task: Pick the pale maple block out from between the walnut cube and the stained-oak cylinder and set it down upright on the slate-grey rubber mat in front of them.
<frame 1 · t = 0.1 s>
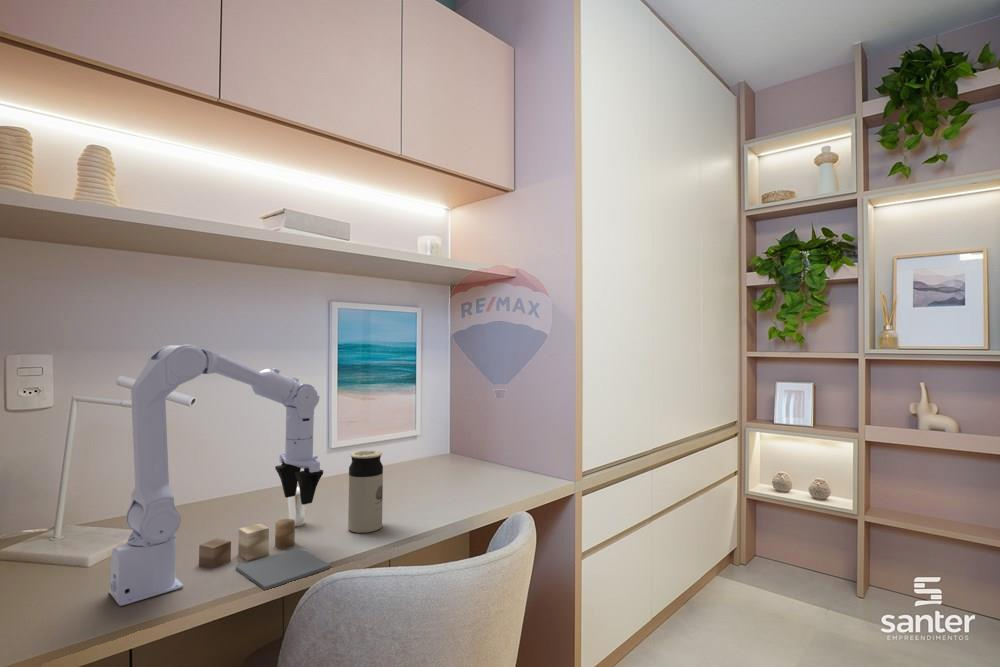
hand: (298, 499, 114), 10 cm above the table, tool pointing down, fingers open, 7 cm apart
milkshake: (295, 525, 128), on the table
travel mug: (365, 528, 125), on the table
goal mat: (283, 568, 102), on the table
walnut cube: (214, 563, 105), on the table
oak cylinder: (284, 544, 114), on the table
maple block: (253, 554, 109), on the table
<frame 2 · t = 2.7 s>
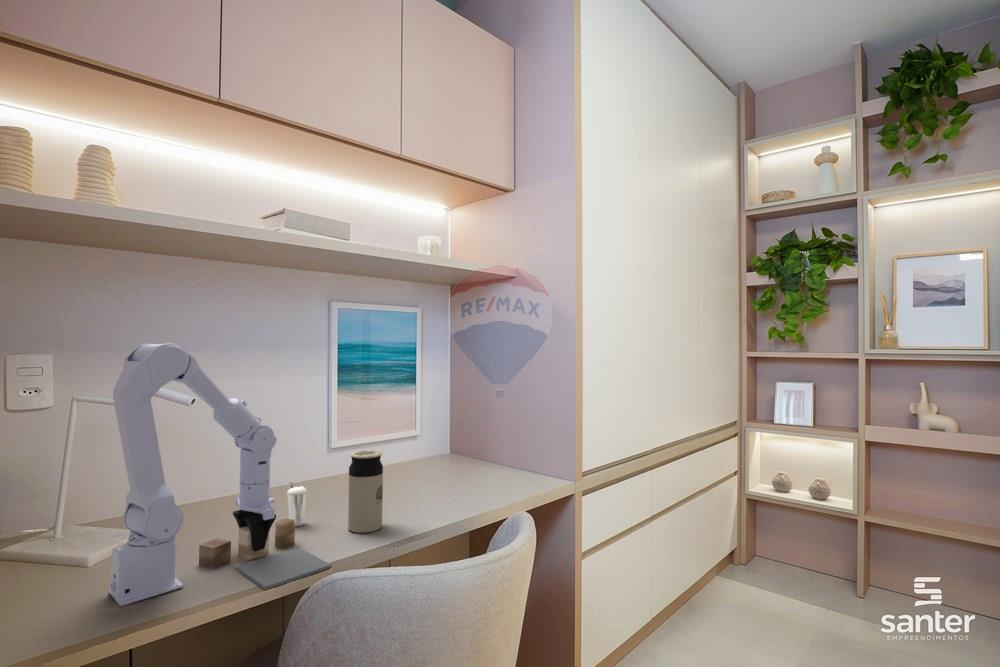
hand: (253, 546, 109), 2 cm above the table, tool pointing down, fingers closed on maple block, 4 cm apart
maple block: (253, 554, 109), on the table, touching gripper
everything else where it was.
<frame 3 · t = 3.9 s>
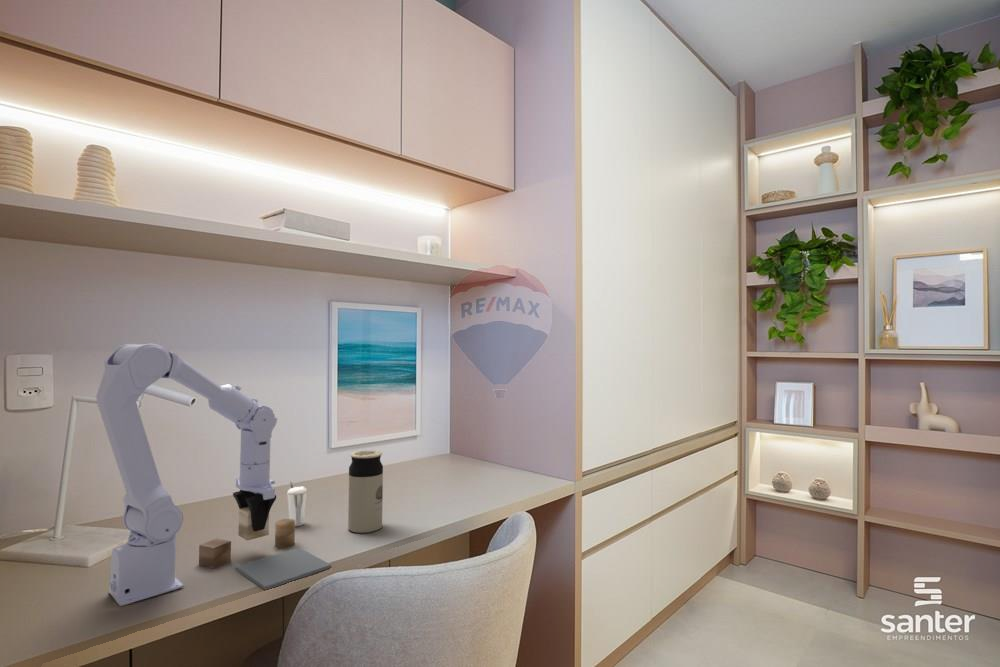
hand: (253, 527, 109), 6 cm above the table, tool pointing down, fingers closed on maple block, 4 cm apart
maple block: (253, 535, 109), point 4 cm above the table, touching gripper
everything else where it was.
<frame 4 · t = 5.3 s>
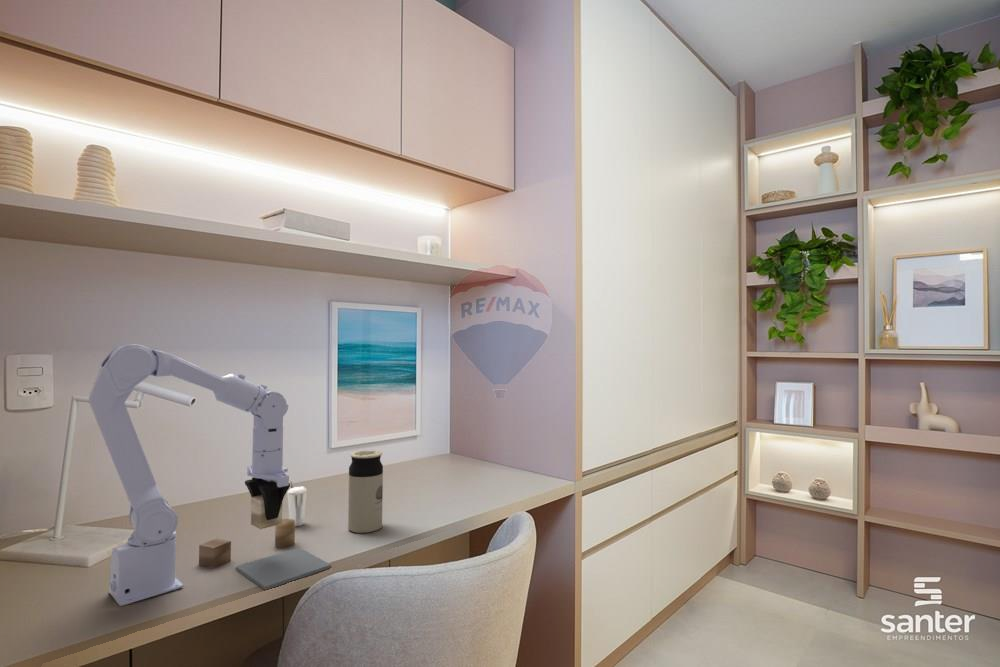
hand: (266, 516, 106), 9 cm above the table, tool pointing down, fingers closed on maple block, 4 cm apart
maple block: (266, 524, 106), point 7 cm above the table, touching gripper
everything else where it was.
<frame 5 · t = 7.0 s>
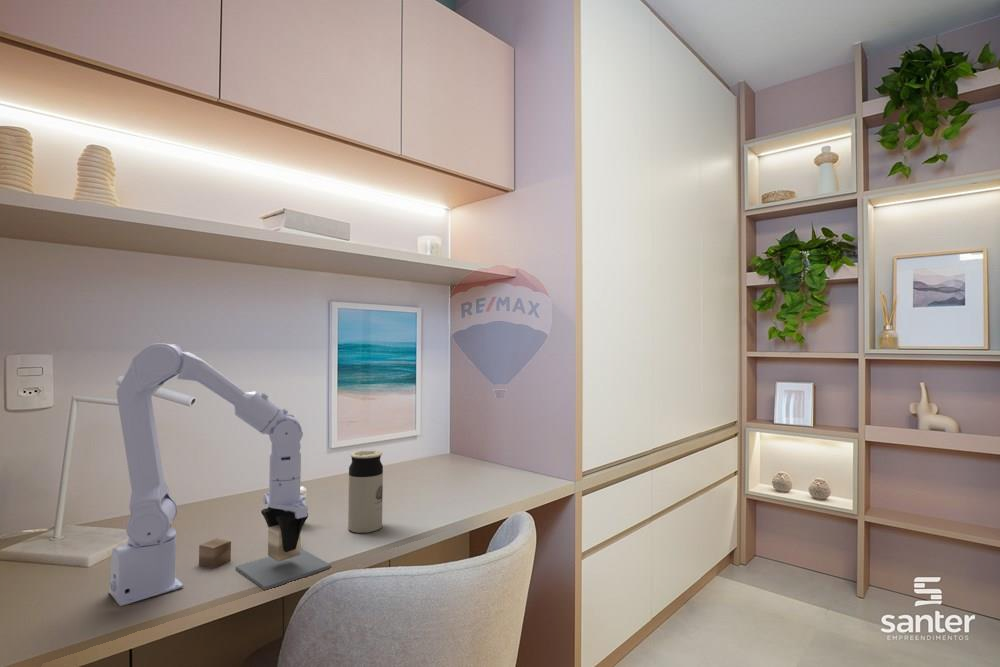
hand: (284, 547, 102), 4 cm above the table, tool pointing down, fingers closed on maple block, 4 cm apart
maple block: (284, 555, 102), point 3 cm above the table, touching gripper
everything else where it was.
when the fingers open (4 cm above the table, at t = 8.2 s): maple block drops 2 cm, resting on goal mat.
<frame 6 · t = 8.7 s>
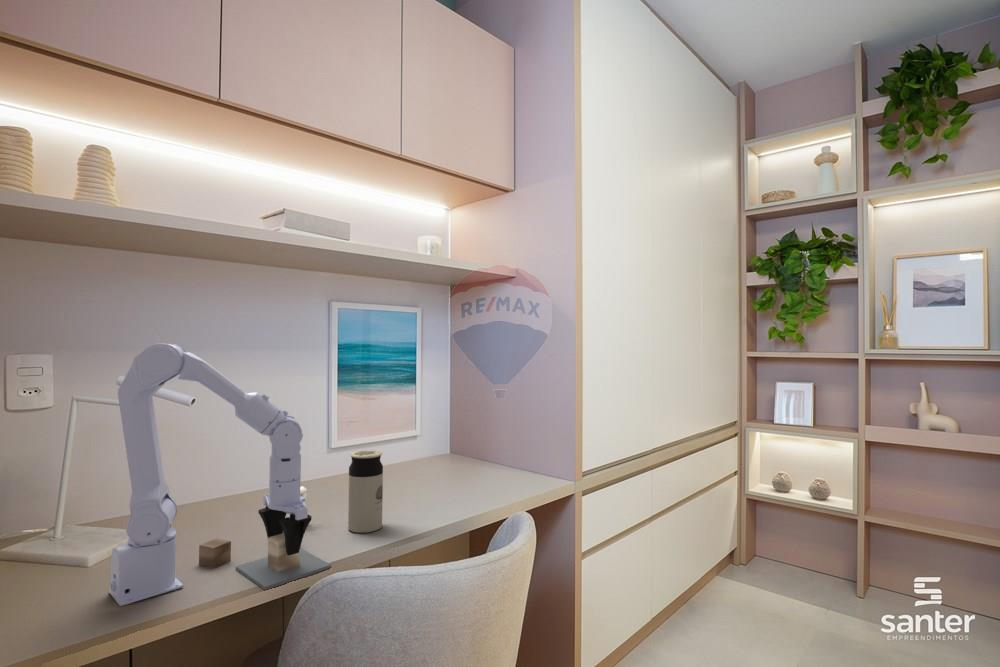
hand: (283, 548, 102), 4 cm above the table, tool pointing down, fingers open, 7 cm apart
maple block: (283, 565, 102), point 1 cm above the table, touching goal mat
everything else where it was.
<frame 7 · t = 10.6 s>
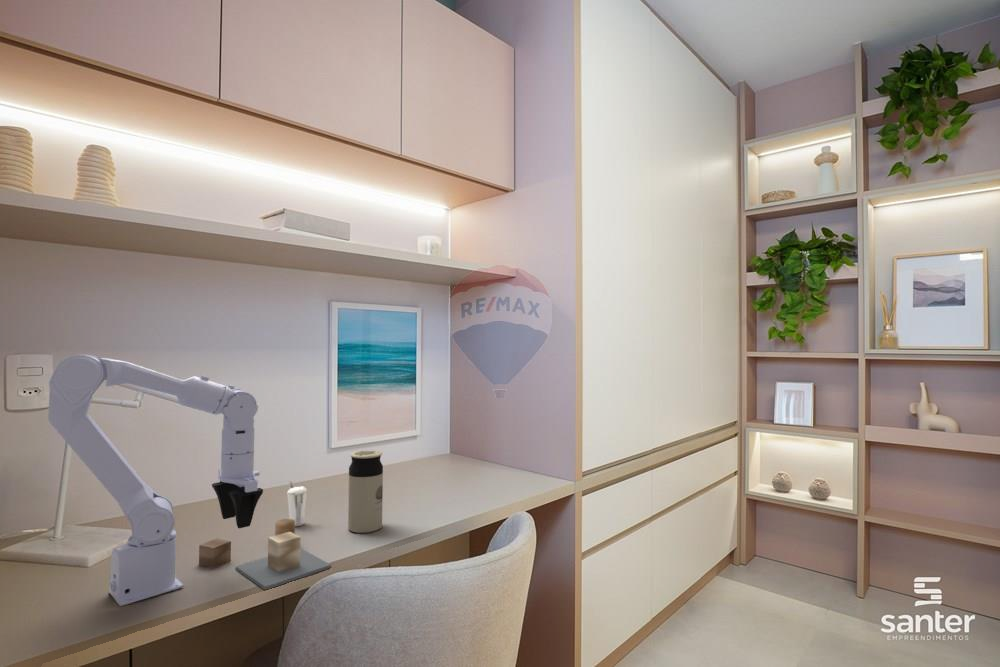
hand: (236, 522, 101), 9 cm above the table, tool pointing down, fingers open, 7 cm apart
nothing on the table moved.
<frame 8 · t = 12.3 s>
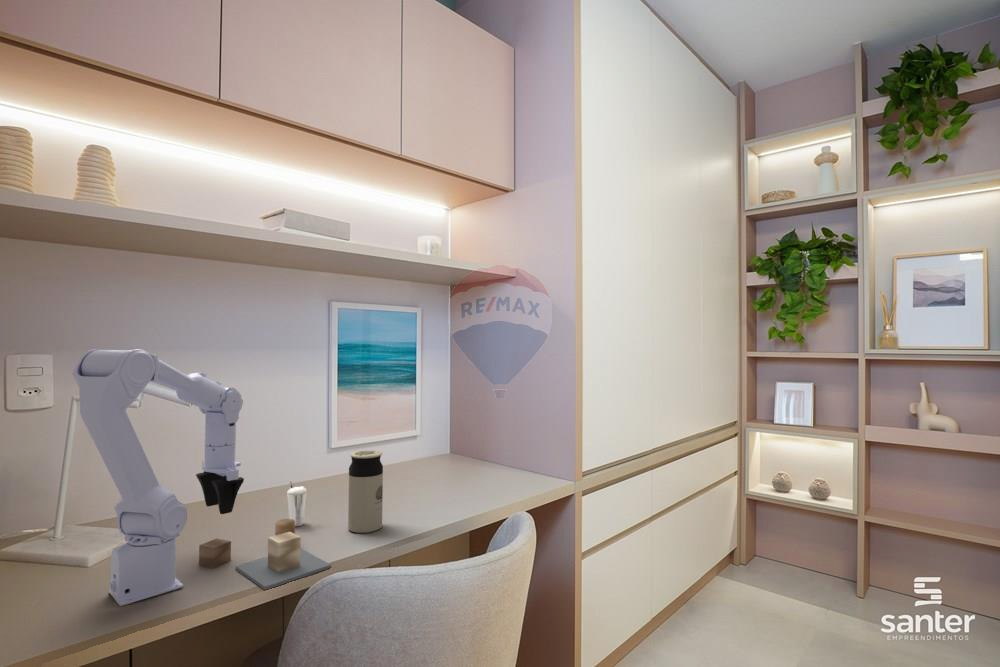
hand: (218, 509, 109), 9 cm above the table, tool pointing down, fingers open, 7 cm apart
nothing on the table moved.
at the end: maple block inside the target area on the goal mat (0.0 cm from its centre), point 0.6 cm above the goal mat's base; maple block tilted 0°; the gripper is holding nothing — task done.
